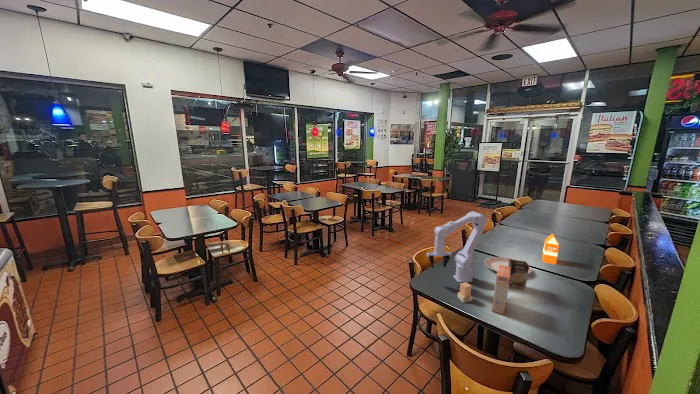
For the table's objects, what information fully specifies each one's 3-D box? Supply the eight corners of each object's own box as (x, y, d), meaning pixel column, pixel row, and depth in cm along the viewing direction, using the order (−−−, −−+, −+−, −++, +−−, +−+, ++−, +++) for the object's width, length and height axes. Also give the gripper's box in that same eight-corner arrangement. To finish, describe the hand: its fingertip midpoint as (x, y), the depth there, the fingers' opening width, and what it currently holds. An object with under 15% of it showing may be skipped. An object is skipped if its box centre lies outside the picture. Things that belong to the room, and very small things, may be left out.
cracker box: (504, 315, 134) (509, 278, 130) (491, 311, 138) (495, 274, 133) (506, 301, 146) (511, 266, 141) (494, 298, 149) (498, 263, 144)
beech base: (466, 296, 152) (467, 291, 151) (472, 301, 146) (472, 297, 146) (457, 297, 151) (457, 292, 150) (462, 302, 146) (463, 297, 145)
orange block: (465, 291, 151) (466, 282, 149) (470, 295, 147) (471, 285, 146) (459, 293, 149) (460, 283, 148) (464, 297, 146) (465, 287, 144)
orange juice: (554, 259, 195) (559, 234, 191) (556, 264, 188) (560, 237, 184) (541, 257, 199) (545, 232, 195) (542, 261, 192) (546, 235, 188)
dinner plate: (486, 275, 175) (486, 270, 174) (482, 258, 200) (483, 253, 199) (535, 283, 165) (536, 278, 164) (525, 264, 189) (526, 259, 189)
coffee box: (507, 288, 159) (511, 263, 155) (505, 282, 165) (508, 258, 161) (525, 291, 156) (529, 265, 152) (522, 285, 162) (526, 261, 158)
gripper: (448, 243, 165) (447, 263, 168) (425, 244, 164) (424, 264, 167) (453, 248, 158) (451, 269, 161) (429, 248, 157) (428, 269, 160)
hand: (438, 267), depth 164 cm, fingers open, 7 cm apart
